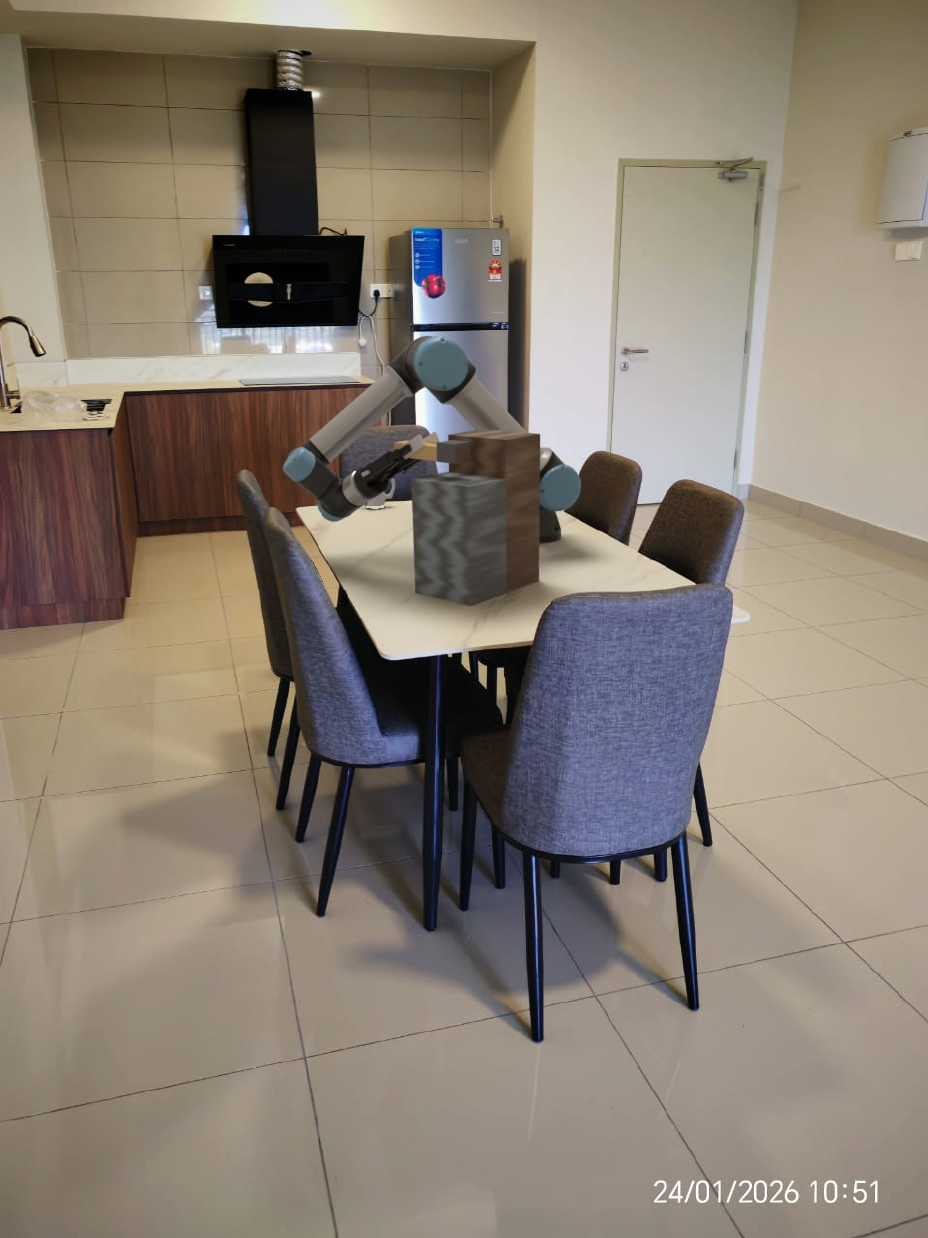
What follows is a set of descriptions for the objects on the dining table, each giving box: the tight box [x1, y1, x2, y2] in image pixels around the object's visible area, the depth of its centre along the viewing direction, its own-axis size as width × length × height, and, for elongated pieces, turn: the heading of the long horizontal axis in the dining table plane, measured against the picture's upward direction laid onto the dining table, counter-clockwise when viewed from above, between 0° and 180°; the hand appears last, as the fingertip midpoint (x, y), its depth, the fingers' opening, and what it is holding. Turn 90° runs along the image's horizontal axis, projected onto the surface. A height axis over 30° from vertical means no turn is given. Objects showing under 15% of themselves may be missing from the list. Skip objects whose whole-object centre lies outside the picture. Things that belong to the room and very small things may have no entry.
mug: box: [367, 477, 396, 506], centre depth 291 cm, size 10×7×12 cm, turn 95°
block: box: [393, 440, 471, 464], centre depth 197 cm, size 18×5×4 cm, turn 49°
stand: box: [410, 429, 541, 607], centre depth 202 cm, size 16×24×33 cm, turn 139°
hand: (429, 438), depth 197 cm, fingers closed on block, 4 cm apart
